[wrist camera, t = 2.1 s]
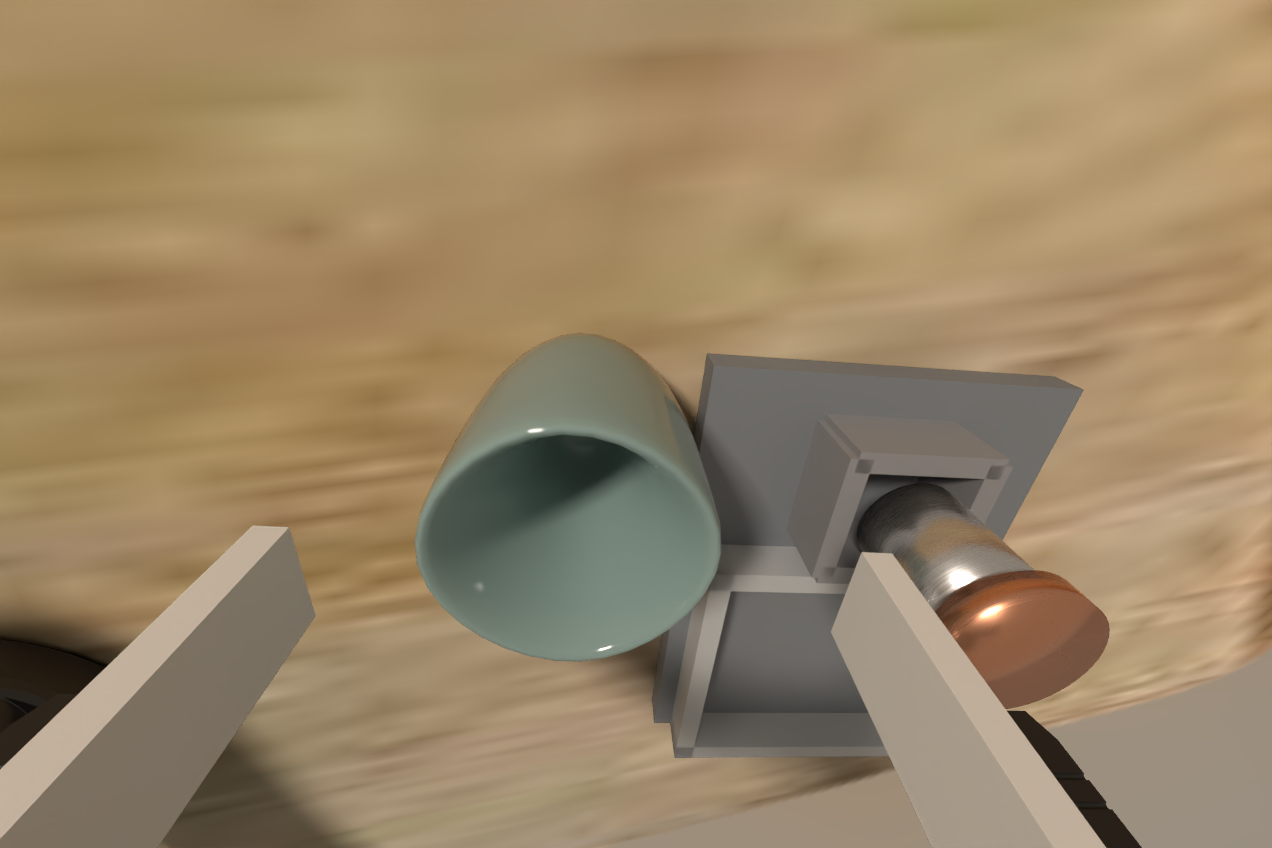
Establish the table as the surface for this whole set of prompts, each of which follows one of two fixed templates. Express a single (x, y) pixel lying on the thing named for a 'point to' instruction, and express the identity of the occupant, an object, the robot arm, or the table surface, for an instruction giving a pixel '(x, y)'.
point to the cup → (571, 507)
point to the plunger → (987, 594)
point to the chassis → (825, 531)
